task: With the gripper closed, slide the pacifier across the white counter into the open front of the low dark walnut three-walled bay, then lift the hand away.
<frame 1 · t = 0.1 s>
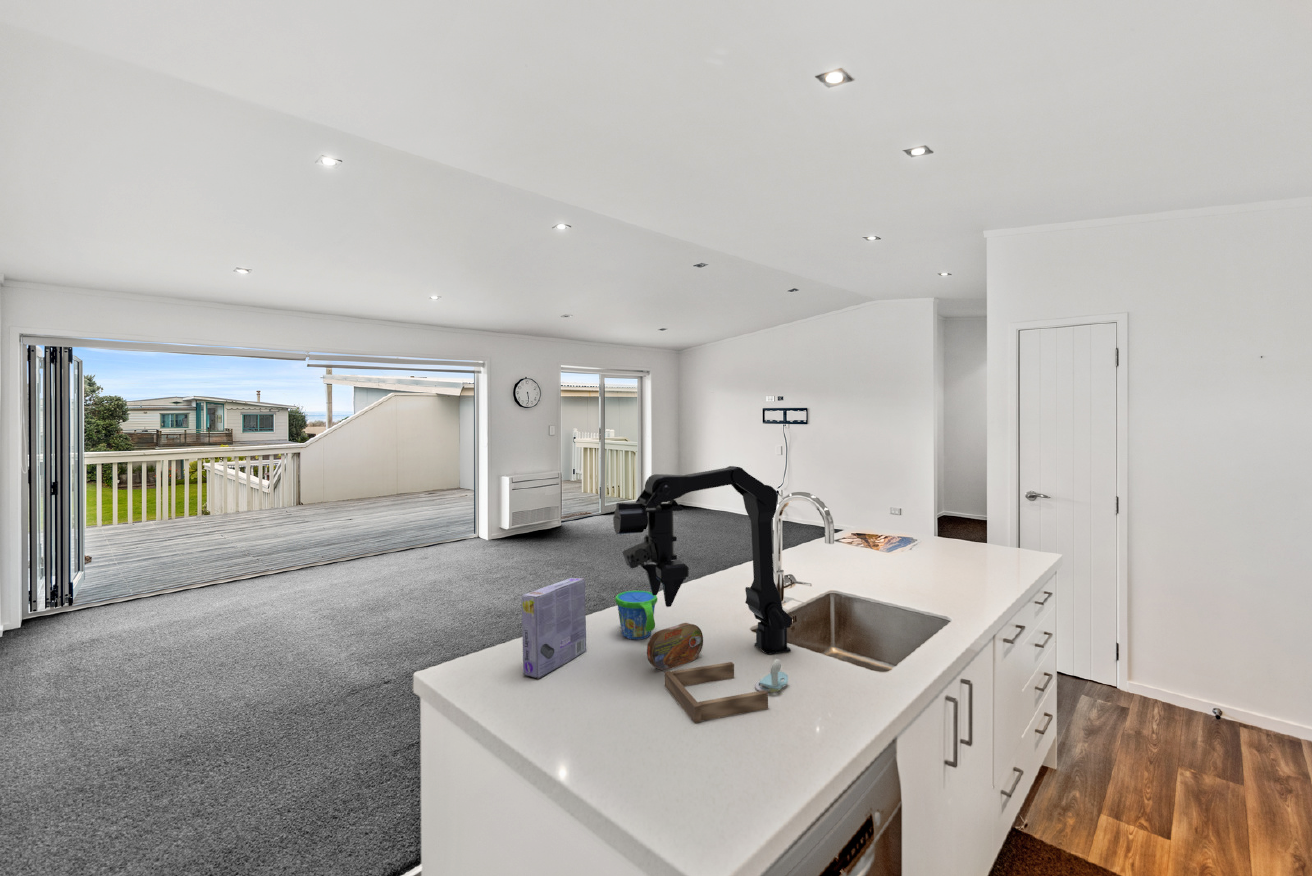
hand: (661, 600, 130), 15 cm above the counter, tool pointing down, fingers open, 9 cm apart
tin: (675, 664, 132), on the counter
pacifier: (770, 689, 119), on the counter
walnut bay: (712, 697, 115), on the counter
snack cup: (636, 636, 150), on the counter
cake pan box: (557, 663, 133), on the counter
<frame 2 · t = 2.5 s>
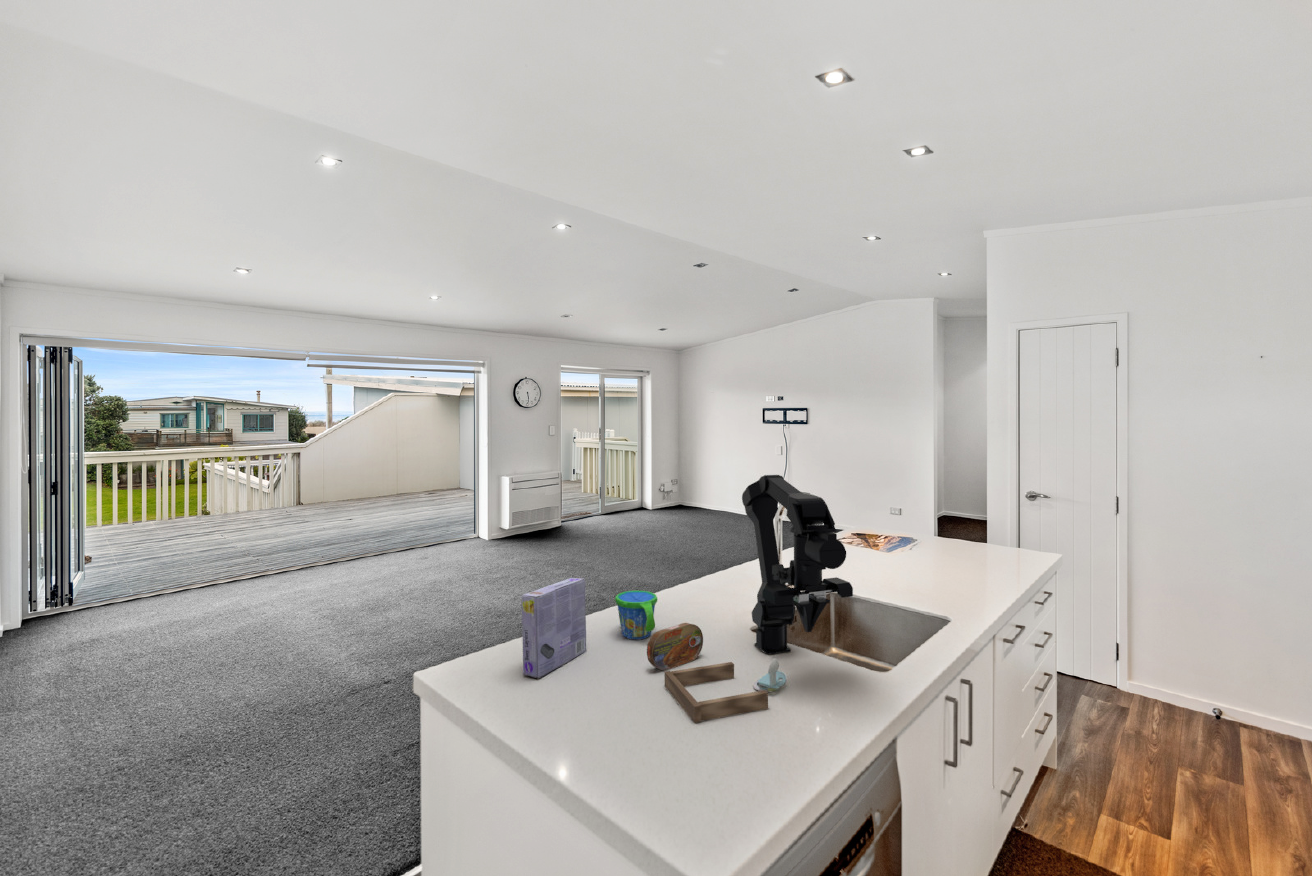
hand: (808, 631, 122), 10 cm above the counter, tool pointing down, fingers closed
nothing on the counter moved.
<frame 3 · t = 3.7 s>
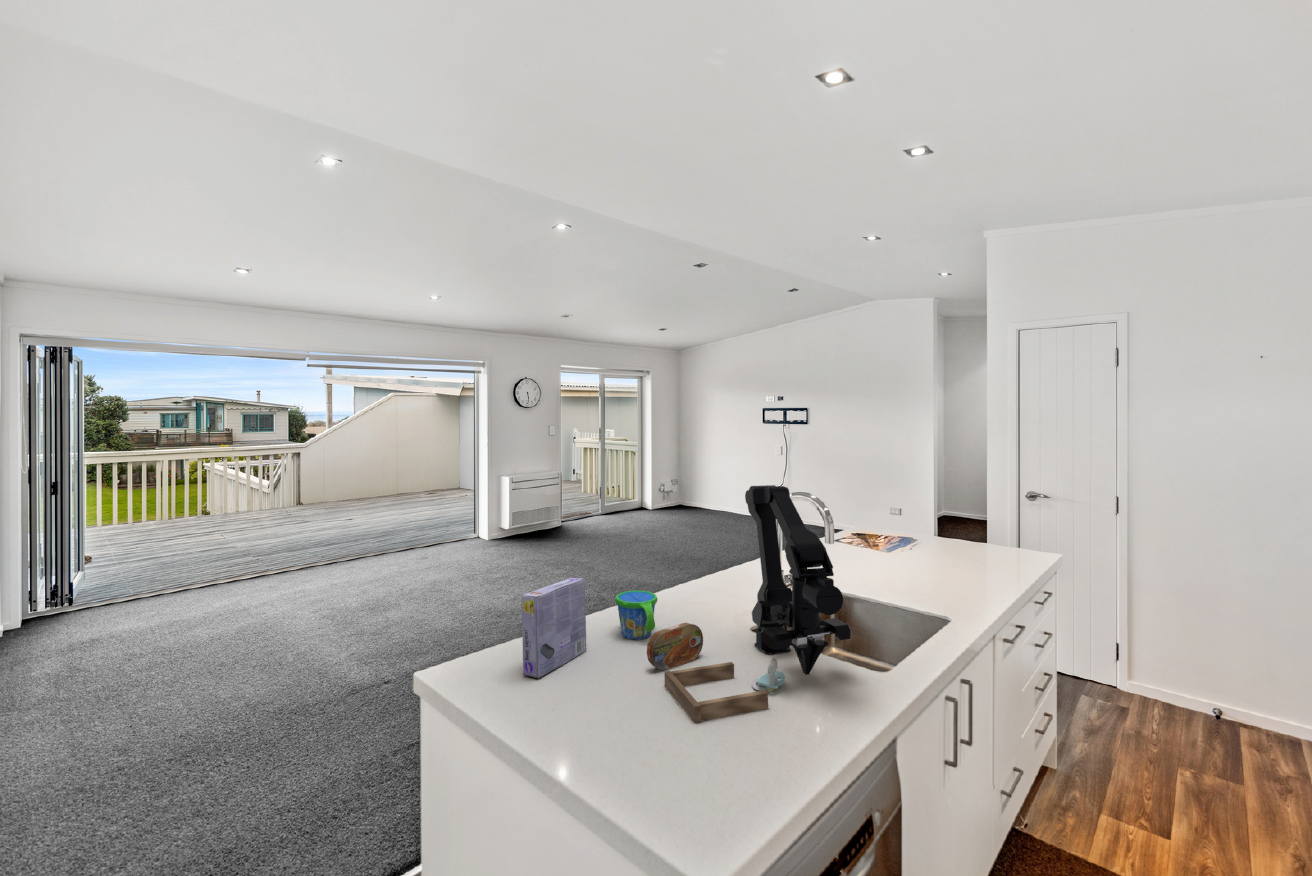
hand: (806, 673, 122), 2 cm above the counter, tool pointing down, fingers closed
nothing on the counter moved.
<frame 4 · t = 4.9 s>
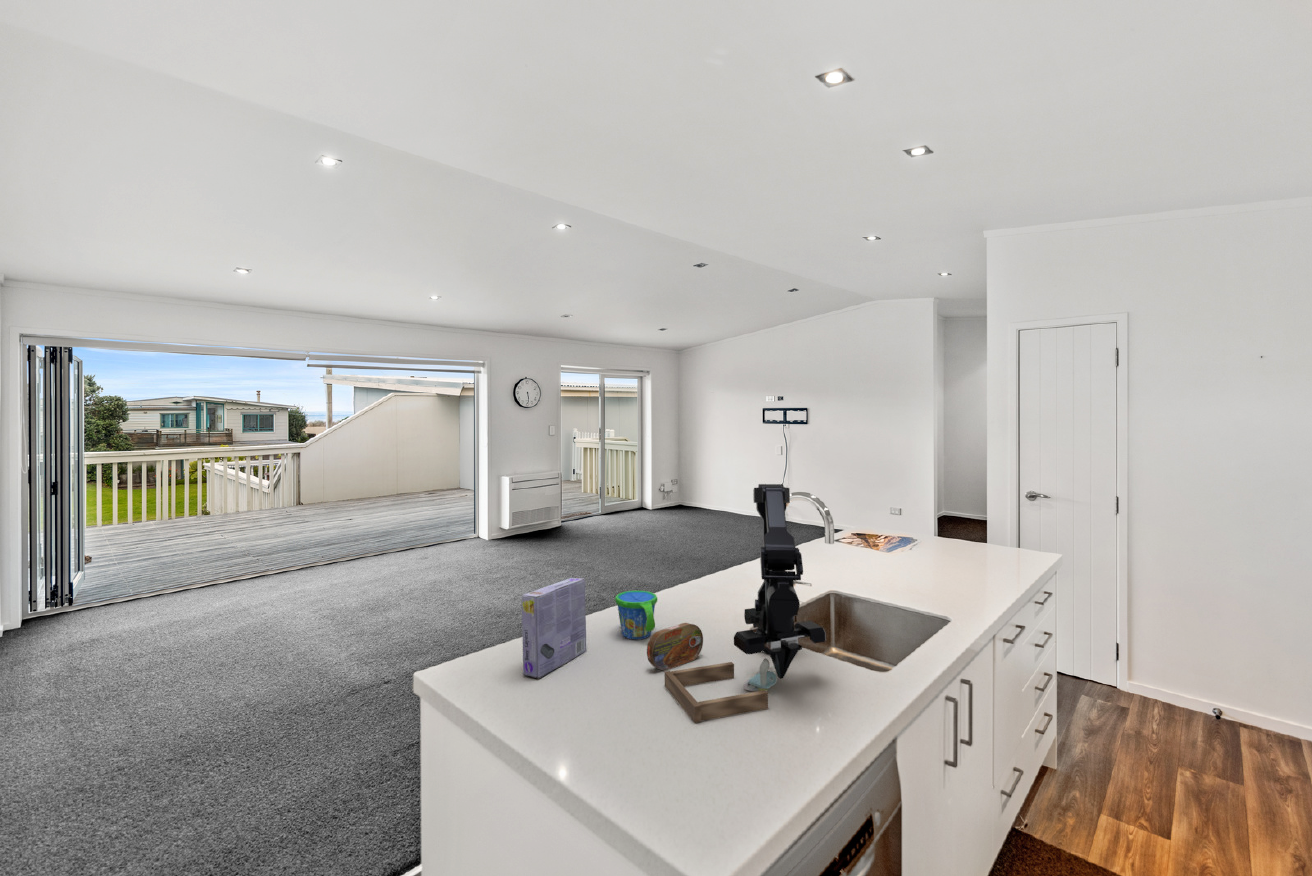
hand: (780, 677, 120), 2 cm above the counter, tool pointing down, fingers closed
pacifier: (759, 688, 119), on the counter, touching gripper
everything else where it was.
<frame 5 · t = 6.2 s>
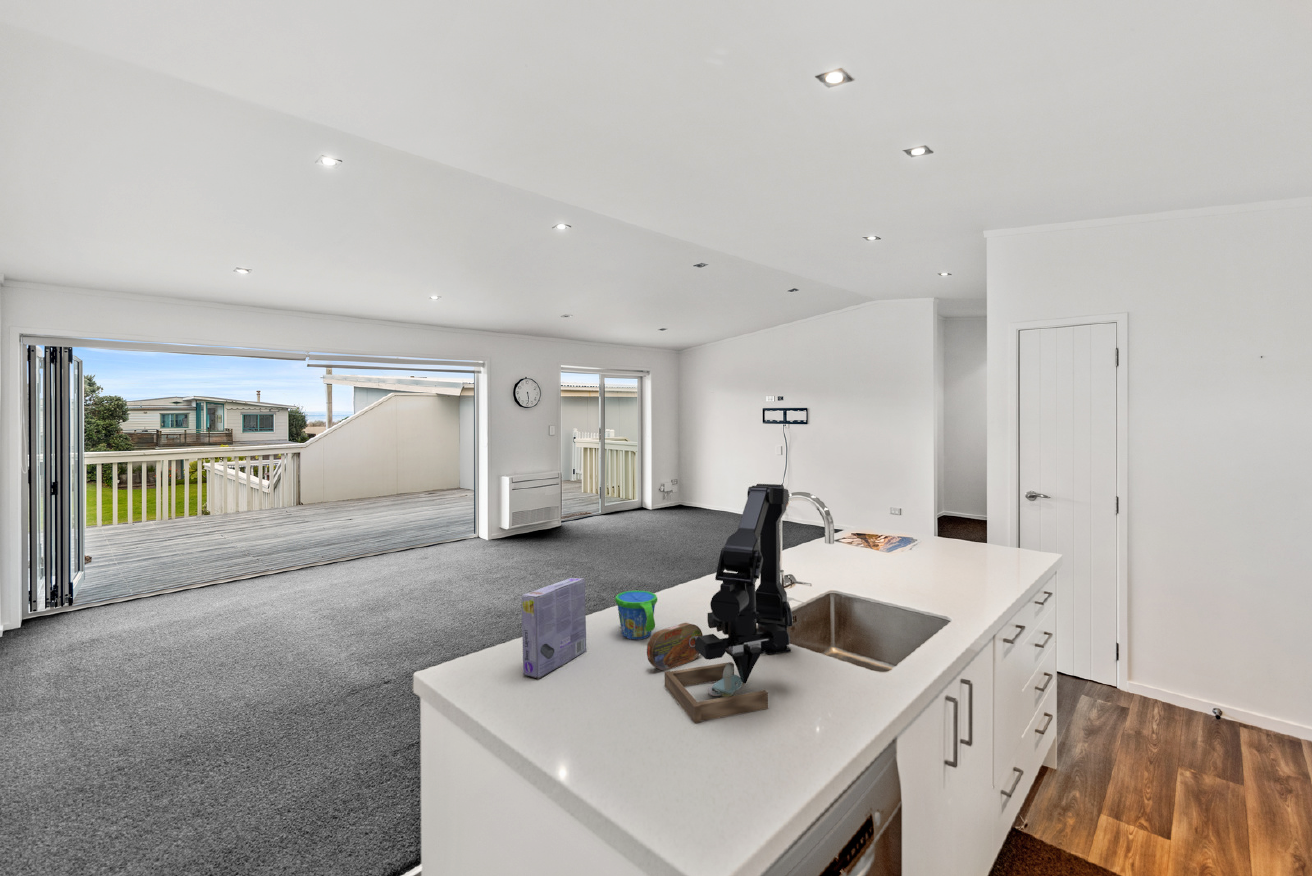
hand: (743, 682, 117), 2 cm above the counter, tool pointing down, fingers closed, pressing on pacifier
pacifier: (723, 693, 117), on the counter, touching gripper
everything else where it was.
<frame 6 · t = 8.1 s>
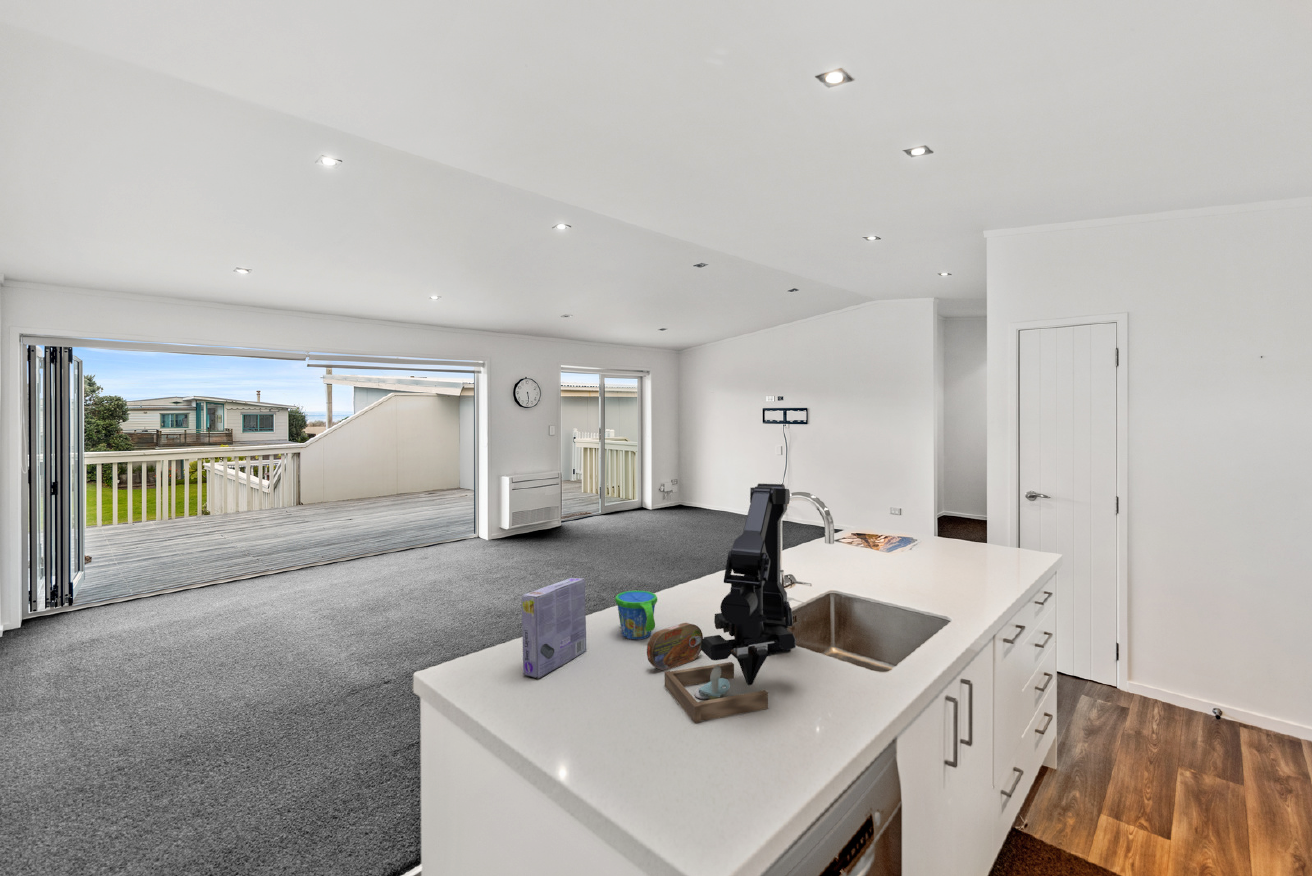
hand: (749, 684, 118), 1 cm above the counter, tool pointing down, fingers closed
pacifier: (710, 696, 116), on the counter
everything else where it was.
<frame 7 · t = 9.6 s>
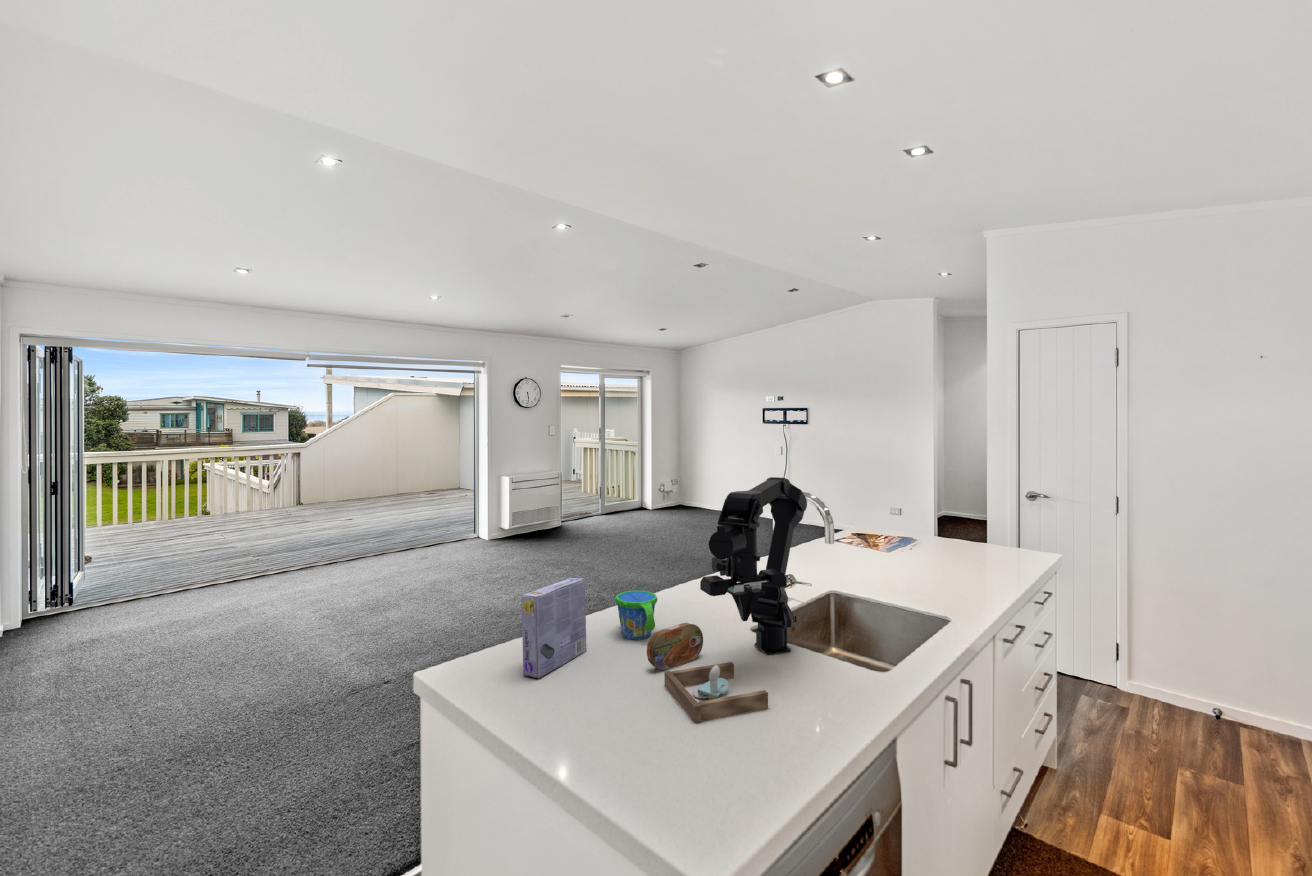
hand: (744, 620, 128), 11 cm above the counter, tool pointing down, fingers closed
nothing on the counter moved.
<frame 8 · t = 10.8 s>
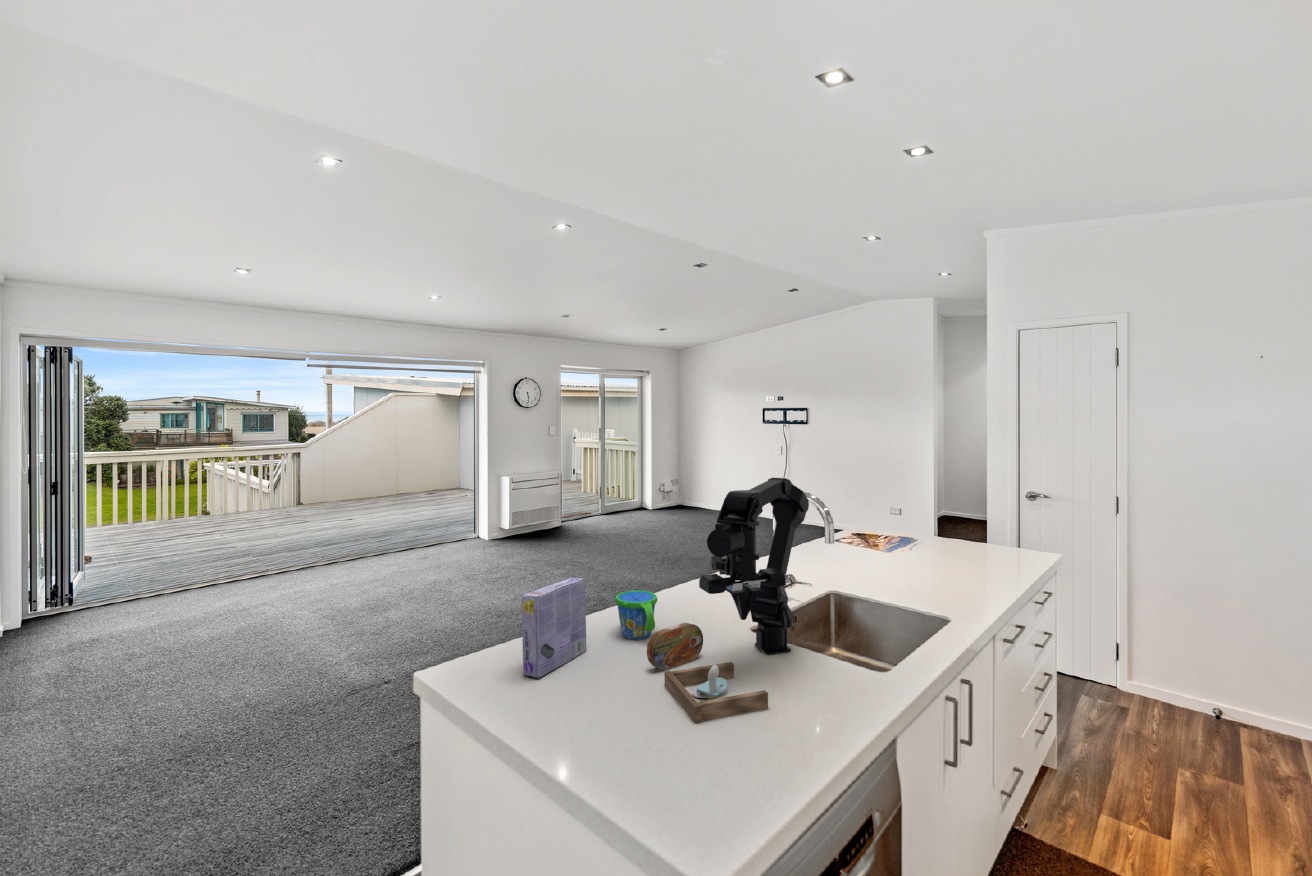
hand: (743, 619, 128), 11 cm above the counter, tool pointing down, fingers closed
nothing on the counter moved.
at the end: pacifier inside the target area on the walnut bay (1.9 cm from its centre), point 0.0 cm above the walnut bay's base; pacifier moved 13.2 cm from its start; the gripper is holding nothing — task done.
